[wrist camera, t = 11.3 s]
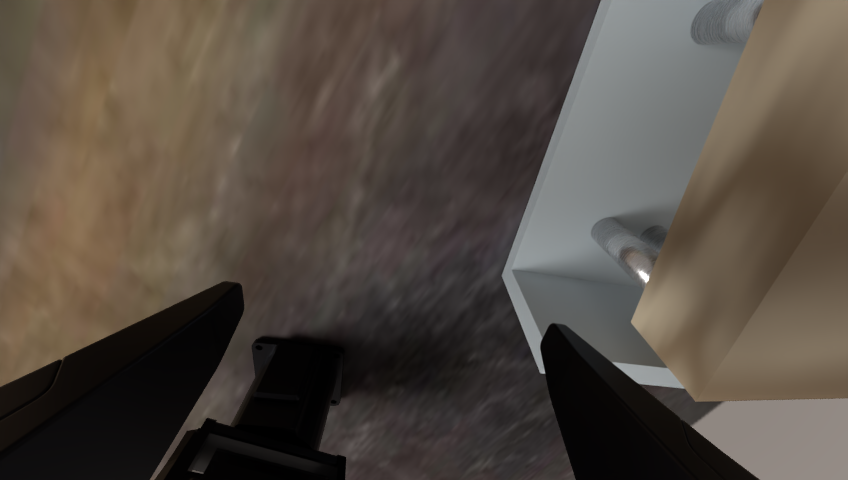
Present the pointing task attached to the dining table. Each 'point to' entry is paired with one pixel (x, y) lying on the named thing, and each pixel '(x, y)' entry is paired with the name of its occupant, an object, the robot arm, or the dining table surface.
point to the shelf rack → (622, 170)
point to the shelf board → (764, 224)
